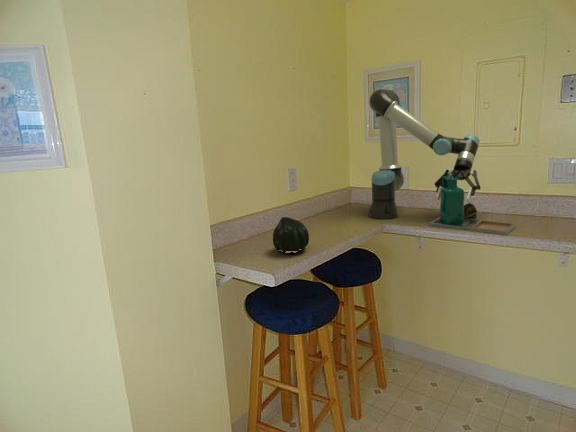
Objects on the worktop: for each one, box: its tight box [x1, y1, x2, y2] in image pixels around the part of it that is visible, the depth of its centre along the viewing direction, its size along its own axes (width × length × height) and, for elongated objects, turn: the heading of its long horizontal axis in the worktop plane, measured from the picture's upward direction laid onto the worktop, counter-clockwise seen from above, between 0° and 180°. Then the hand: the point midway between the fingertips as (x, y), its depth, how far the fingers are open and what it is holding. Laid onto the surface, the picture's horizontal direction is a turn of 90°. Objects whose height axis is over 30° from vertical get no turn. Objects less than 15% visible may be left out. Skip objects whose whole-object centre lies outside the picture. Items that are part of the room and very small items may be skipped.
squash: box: [272, 216, 310, 252], centre depth 155 cm, size 14×15×15 cm
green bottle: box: [439, 176, 465, 226], centre depth 179 cm, size 10×8×22 cm
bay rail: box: [428, 216, 516, 236], centre depth 175 cm, size 32×15×1 cm, turn 49°
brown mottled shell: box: [463, 202, 478, 219], centre depth 190 cm, size 7×13×10 cm
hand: (452, 199), depth 178 cm, fingers open, 13 cm apart
